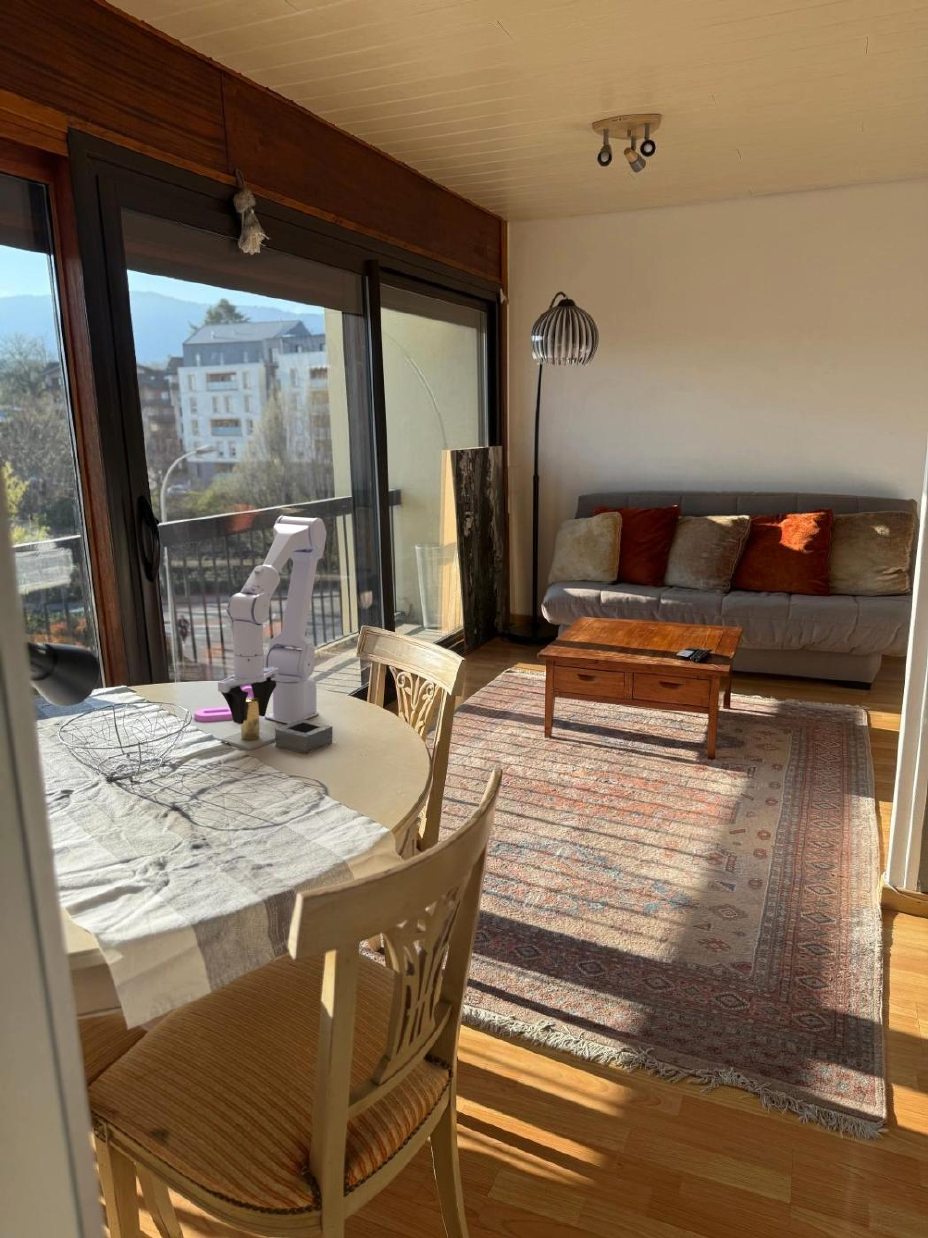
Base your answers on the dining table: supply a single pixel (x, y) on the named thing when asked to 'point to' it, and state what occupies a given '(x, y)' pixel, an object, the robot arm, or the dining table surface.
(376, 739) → the dining table surface
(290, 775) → the dining table surface
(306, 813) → the dining table surface
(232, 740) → the mat
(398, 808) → the dining table surface
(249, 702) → the key peg
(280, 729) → the block
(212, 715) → the bracket
